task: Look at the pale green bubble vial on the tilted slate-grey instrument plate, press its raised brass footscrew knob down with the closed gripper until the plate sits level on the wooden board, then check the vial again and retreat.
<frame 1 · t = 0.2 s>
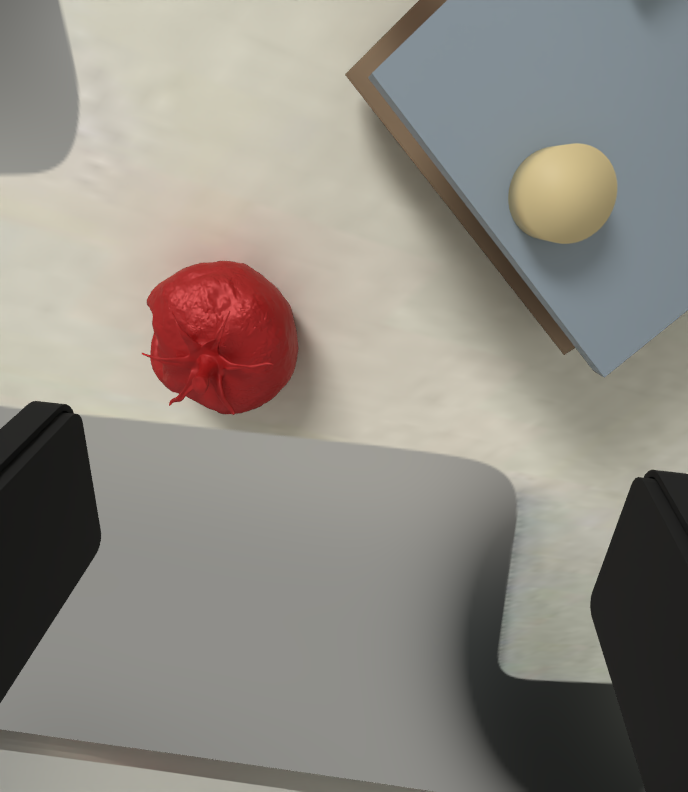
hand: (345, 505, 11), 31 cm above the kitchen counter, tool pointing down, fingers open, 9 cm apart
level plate: (676, 87, 26), point 8 cm above the kitchen counter, hinge at 15.0°
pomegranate: (236, 317, 43), on the kitchen counter
wooden board: (609, 90, 34), on the kitchen counter
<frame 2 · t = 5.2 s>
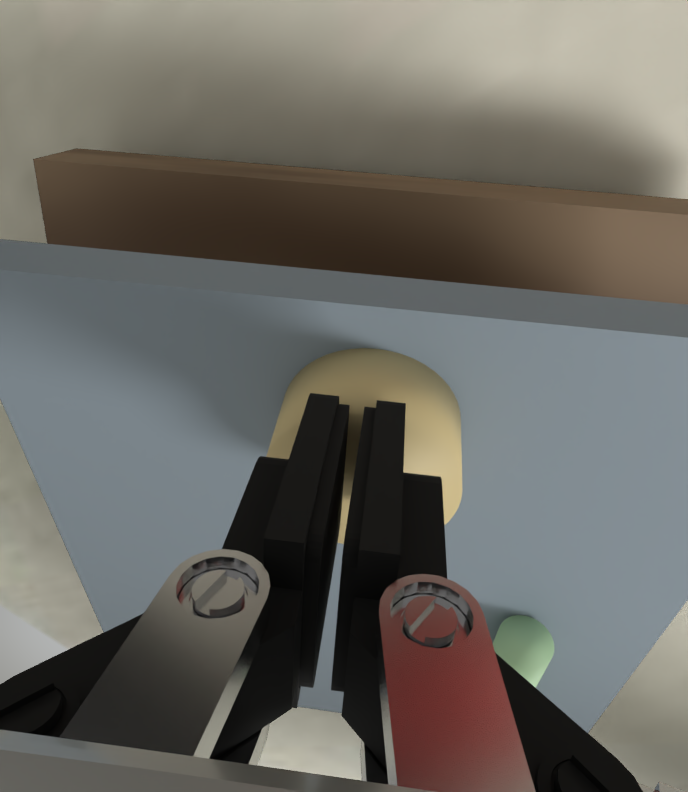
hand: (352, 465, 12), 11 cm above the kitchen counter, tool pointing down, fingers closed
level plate: (355, 592, 18), point 8 cm above the kitchen counter, hinge at 12.6°, touching gripper
wooden board: (375, 434, 24), on the kitchen counter
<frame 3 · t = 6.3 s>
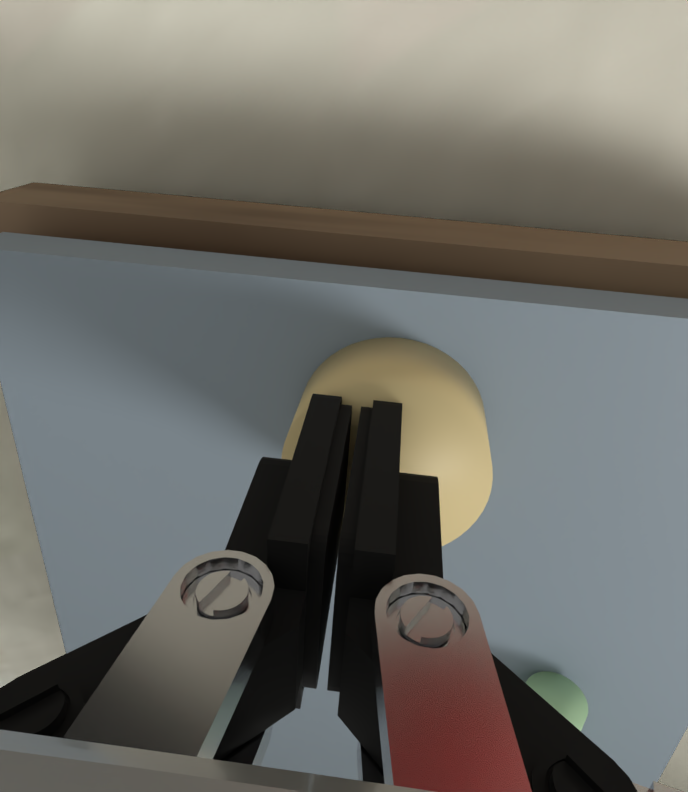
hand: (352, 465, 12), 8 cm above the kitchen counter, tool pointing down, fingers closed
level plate: (365, 639, 16), point 6 cm above the kitchen counter, hinge at 1.3°, touching gripper
wooden board: (381, 500, 21), on the kitchen counter
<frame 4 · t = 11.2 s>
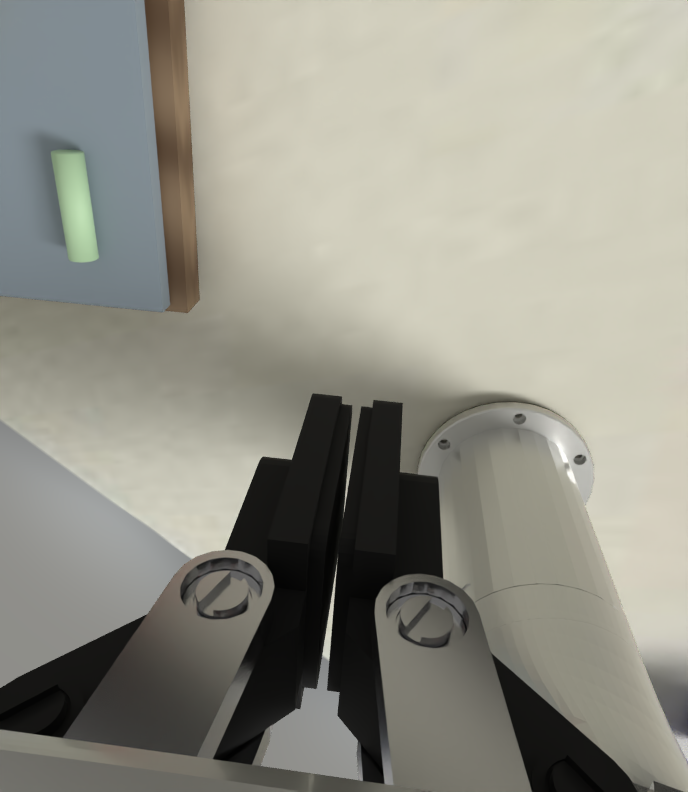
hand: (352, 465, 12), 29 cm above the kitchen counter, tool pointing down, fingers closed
wooden board: (36, 117, 37), on the kitchen counter
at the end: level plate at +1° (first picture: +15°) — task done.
